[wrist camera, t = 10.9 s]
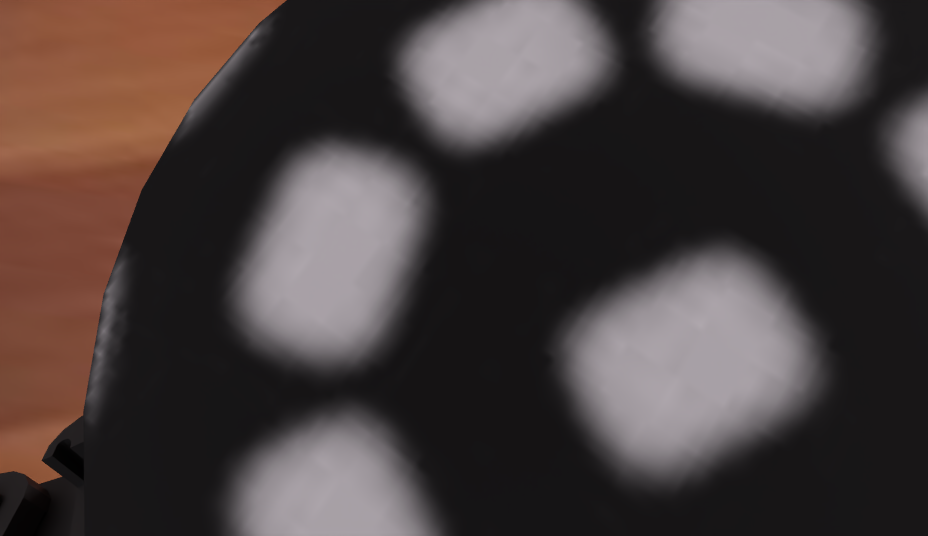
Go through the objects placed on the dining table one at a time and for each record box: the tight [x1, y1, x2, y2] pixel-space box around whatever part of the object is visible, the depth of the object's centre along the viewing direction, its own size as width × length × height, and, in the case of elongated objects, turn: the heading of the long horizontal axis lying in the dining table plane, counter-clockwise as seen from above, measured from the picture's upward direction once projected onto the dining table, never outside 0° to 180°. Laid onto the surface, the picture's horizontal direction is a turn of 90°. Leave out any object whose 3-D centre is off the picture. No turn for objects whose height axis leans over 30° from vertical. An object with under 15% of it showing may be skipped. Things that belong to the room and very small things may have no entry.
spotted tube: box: [83, 0, 928, 536], centre depth 12 cm, size 8×8×20 cm
